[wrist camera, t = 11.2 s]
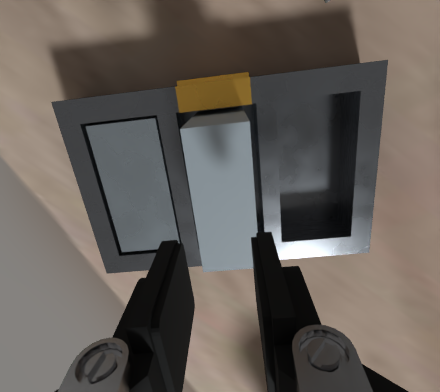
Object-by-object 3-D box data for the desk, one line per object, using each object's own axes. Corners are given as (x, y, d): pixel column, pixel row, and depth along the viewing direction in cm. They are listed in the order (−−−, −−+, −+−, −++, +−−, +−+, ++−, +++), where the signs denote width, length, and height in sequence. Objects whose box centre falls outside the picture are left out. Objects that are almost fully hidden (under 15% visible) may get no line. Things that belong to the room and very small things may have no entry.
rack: (360, 58, 19) (392, 53, 16) (349, 228, 24) (371, 255, 20) (78, 94, 21) (45, 97, 17) (122, 248, 26) (104, 276, 22)
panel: (241, 106, 20) (249, 121, 13) (249, 207, 23) (260, 267, 16) (197, 111, 20) (179, 129, 13) (211, 211, 23) (203, 272, 16)
